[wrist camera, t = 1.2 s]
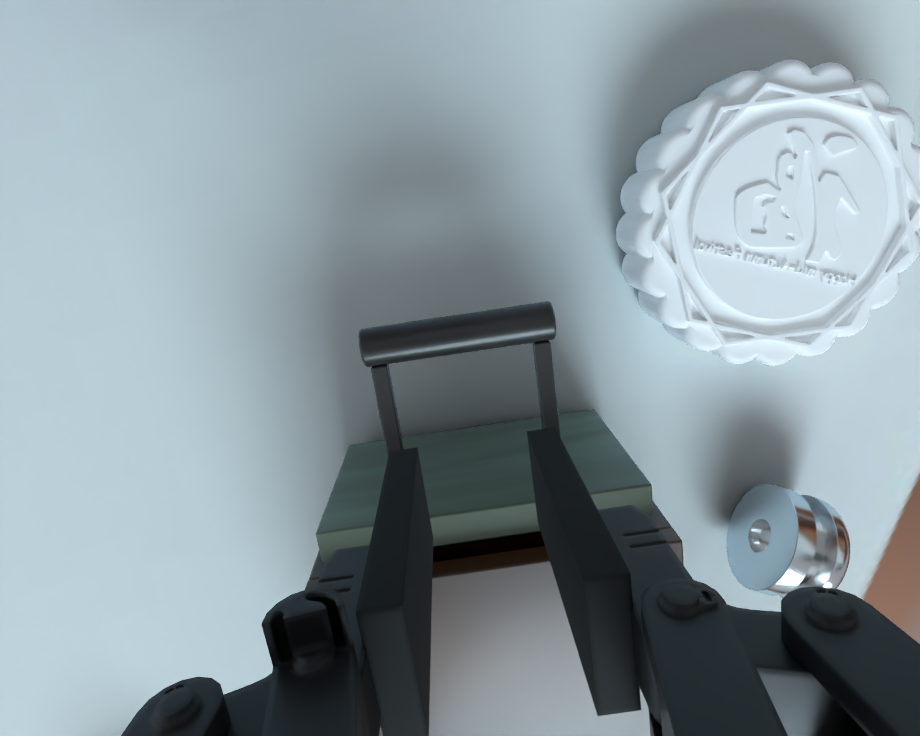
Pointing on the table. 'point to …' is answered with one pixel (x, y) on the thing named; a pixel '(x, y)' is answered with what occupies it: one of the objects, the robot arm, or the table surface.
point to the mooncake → (773, 212)
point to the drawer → (474, 445)
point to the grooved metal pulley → (786, 541)
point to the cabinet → (511, 650)
